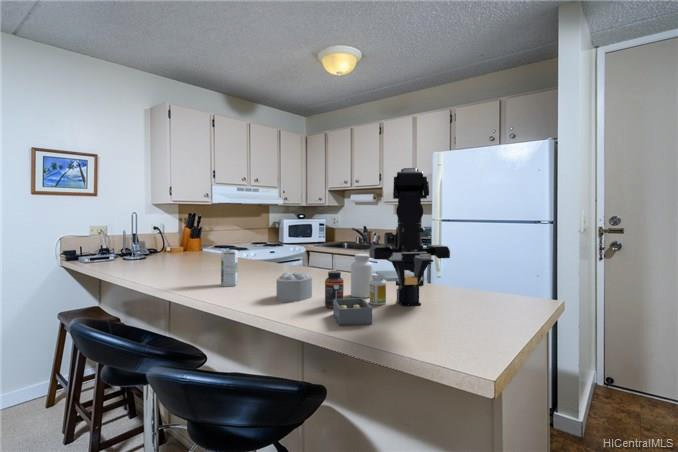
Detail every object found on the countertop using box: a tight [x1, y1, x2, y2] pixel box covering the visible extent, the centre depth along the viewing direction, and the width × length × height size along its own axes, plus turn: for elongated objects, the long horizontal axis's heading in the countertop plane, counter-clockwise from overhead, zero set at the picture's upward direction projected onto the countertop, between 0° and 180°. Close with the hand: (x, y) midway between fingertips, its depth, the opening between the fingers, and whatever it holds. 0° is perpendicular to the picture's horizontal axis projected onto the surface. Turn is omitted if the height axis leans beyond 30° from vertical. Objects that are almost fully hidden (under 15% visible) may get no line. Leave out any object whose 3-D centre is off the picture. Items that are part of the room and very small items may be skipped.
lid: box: [375, 270, 423, 285], centre depth 93 cm, size 9×16×2 cm, turn 8°
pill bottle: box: [350, 253, 374, 299], centre depth 129 cm, size 8×8×15 cm
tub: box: [332, 297, 373, 327], centre depth 101 cm, size 9×11×4 cm
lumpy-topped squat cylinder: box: [276, 271, 313, 303], centre depth 126 cm, size 10×13×9 cm
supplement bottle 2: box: [369, 272, 387, 306], centre depth 119 cm, size 5×5×10 cm
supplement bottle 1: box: [324, 270, 344, 309], centre depth 114 cm, size 6×6×11 cm
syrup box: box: [220, 249, 239, 287], centre depth 147 cm, size 6×6×14 cm
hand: (408, 287), depth 87 cm, fingers closed on lid, 3 cm apart
